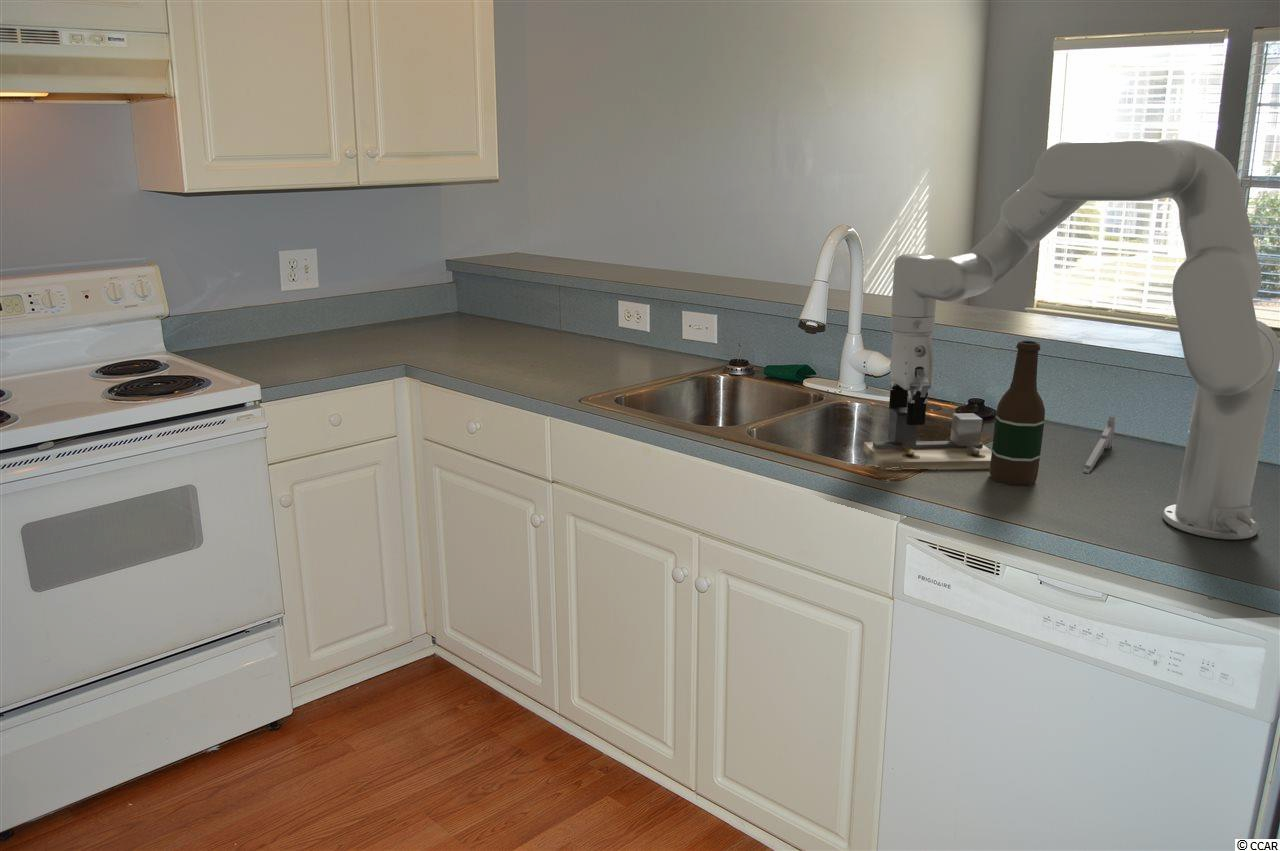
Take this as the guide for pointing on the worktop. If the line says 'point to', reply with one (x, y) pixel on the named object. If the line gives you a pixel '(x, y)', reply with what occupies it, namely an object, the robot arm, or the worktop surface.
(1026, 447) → the beer bottle
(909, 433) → the block
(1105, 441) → the caliper
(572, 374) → the worktop surface
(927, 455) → the board
